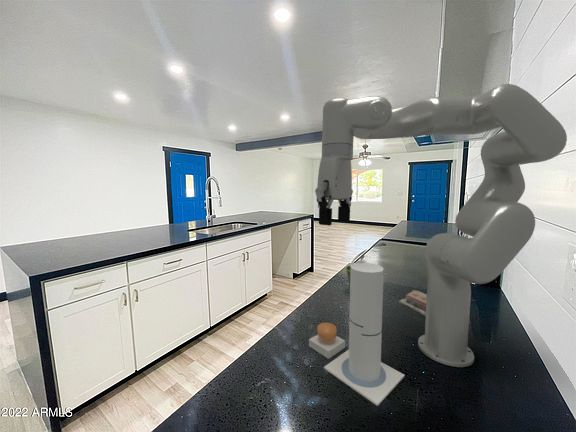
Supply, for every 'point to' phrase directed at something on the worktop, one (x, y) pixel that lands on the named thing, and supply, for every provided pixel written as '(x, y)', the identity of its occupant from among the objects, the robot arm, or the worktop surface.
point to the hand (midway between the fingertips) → (334, 223)
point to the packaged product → (416, 301)
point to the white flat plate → (369, 390)
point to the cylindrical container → (365, 321)
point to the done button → (327, 331)
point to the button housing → (327, 345)
